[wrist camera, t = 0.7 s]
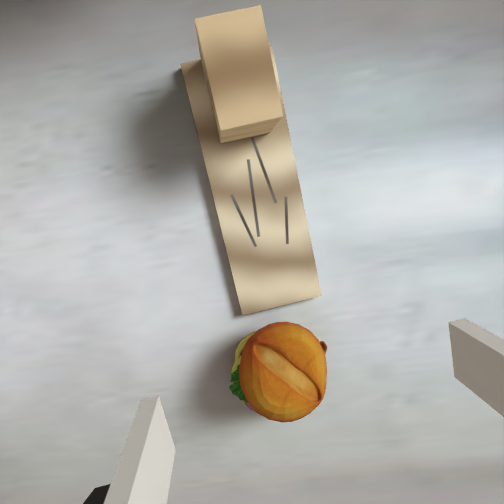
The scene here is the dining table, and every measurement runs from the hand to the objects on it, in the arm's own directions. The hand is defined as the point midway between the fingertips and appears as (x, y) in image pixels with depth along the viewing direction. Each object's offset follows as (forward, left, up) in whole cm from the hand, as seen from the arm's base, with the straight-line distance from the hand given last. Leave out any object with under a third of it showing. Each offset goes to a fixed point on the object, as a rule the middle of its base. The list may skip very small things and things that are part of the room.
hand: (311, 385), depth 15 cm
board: (-9, +2, -24) cm, 25 cm away
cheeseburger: (+11, 0, -24) cm, 26 cm away
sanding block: (-18, +2, -23) cm, 29 cm away
